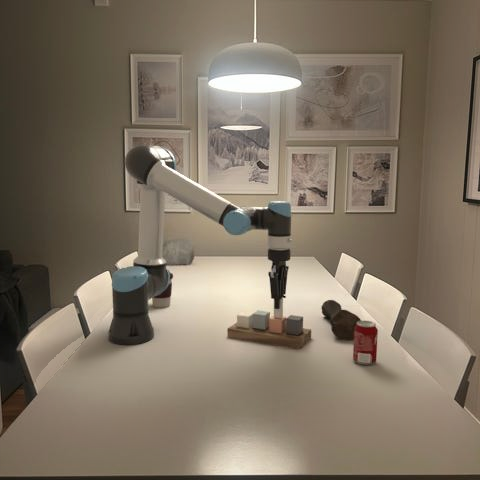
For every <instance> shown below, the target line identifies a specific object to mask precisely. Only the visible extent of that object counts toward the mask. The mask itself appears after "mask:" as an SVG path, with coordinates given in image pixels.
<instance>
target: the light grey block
mask: <svg viewBox="0 0 480 480" xmlns="http://www.w3.org/2000/svg"><path fill="white" fill-rule="evenodd" d="M252 313H253V312H252ZM270 318H271V312H270V311H264V310H257V311H255V312H254V313H253V328H257V329H263V330H265V329H266V328H268V327H269V319H270Z"/></svg>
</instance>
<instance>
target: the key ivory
mask: <svg viewBox="0 0 480 480" xmlns="http://www.w3.org/2000/svg"><path fill="white" fill-rule="evenodd" d="M236 323H237V327H244V328H250V327H252V326H253V312H247V311H241V312H240V313H238V314H236Z"/></svg>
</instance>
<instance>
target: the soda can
mask: <svg viewBox="0 0 480 480" xmlns="http://www.w3.org/2000/svg"><path fill="white" fill-rule="evenodd" d="M376 325H377V324H376V323H375V322H374V321H372V320H371V321H370V320H361V321H358V322H357V325H356V326H355V328H354V340H353V348H352V350H353V353H352V354H353V355H352V360H353V361H354V362H355V363H356V364H358V365H361V366H371V365H374V364H376V363H377V357H378V356H377V354H378V353H377V352H378V333H379V331H378V328H377V326H376Z"/></svg>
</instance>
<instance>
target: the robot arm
mask: <svg viewBox="0 0 480 480" xmlns="http://www.w3.org/2000/svg"><path fill="white" fill-rule="evenodd" d="M124 167H125V169H126V172H127V173H128V174H129V176H130V177H132V178H133V179H134V180H136V186H137V187H139V188H140V196H139V197H140V200H139V202H140V203H139V221H138V222H139V225H138V244H137V245H138V246H137V248H138V250H137V256H136V257H135V258H134V259H133V263H132V266H130V265H129V266H126V267H121V268H119V269H117V270H115V271H114V272H113V274H112V277H111V278H112V279H111V288H112V289H111V291H112V292H111V293H112V296H111V297H112V318H111V319H112V320H111V323H110V326H109V330H108V333H107V334H108V340H109V342H111V343H113V344H117V345H124V346H126V345H139V344H143V343H147V342H149V341H151V340H152V339H153V338H154V337H155V329H154V327H153V324H152V321H151V318H150V315H149V300H152V298H153V297H155V296H158V295H160V294H161V293H162V292H163V291H164V290H165V289H166V288H167V287H168V285H169V282H170V274H169V272H170V270H169V269H168V268H167V265H166V261H165V259H164V258H163V257H162V250H163V244H164V230H165V229H164V228H165V227H164V226H165V225H164V224H165V206H166V205H165V203H166V194H167V195H169V196H171V197H172V198H174V199H176V200H177V201H179V202H181V203H182V204H184V205H185V206H188V207H190V208H191V209H193V210H195V211H197V212H198V213H200V214H202V215H203V216H205V217H206V218H208V219H210V220H212V221H213V222H215V223H217V224H218V225H221V226H222V227H224V229H225V231H226V232H227V233H228V234H230V235H232V236H241V235H244V234H247V232H251V231H252V230H257V231H258V230H262V231H265V230H266V231H267V247H268V249H267V260H269V261H271V262H272V263H271V267H270V268H271V269H270V271H268V272H267V273H268V277H269V287H270V288H269V289H270V299H273V316H274V317H275V318H282V317H284V315H283V314H284V313H283V312H284V309H283V308H284V299H286V297H287V296H286V294H287V291H286V290H287V283H288V282H287V281H288V272H289V268H290V266H289V265H287V262H288V261H290V260H291V249H290V248H291V242H292V241H293V239H292V238H291V236H292V235H291V234H292V232H291V231H292V216H293V215H292V205H291V203H290V202H289V201H283V200H274V201H273V200H271V201H269V202H268V203H267V206H266V207H265V206H264V207H260V206H246V205H245V206H244V205H243V206H237V205H235V204H234V203H232V202H230V201H229V200H227V199H226V198H223V197H221V196H220V195H218V194H217V193H215V192H212V191H211V190H209V189H207V188H206V187H203V186H202V185H201V184H199V183H197V182H195V181H194V180H191V179H190V178H188V177H186V176H185V175H183V174H181V173H179V172H178V171H176V168H177V162H176V159H175V156H174V154H173V153H172V151H170V150H169V149H167V148H165V147H163V146H158V145H148V144H138V145H134V146H133V147H131V148H130V149H129V150H128V152H127V153H126V155H125V159H124ZM168 270H169V271H168Z"/></svg>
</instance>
